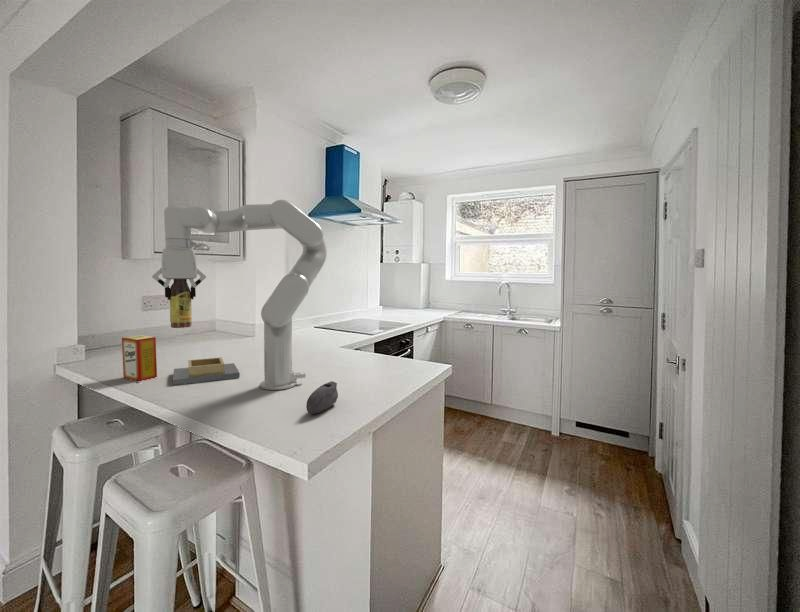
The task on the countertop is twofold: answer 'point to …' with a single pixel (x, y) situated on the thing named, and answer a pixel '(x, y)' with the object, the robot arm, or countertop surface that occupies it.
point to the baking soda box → (139, 357)
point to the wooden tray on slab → (205, 371)
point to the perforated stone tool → (322, 398)
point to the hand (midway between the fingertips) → (180, 298)
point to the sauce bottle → (180, 304)
